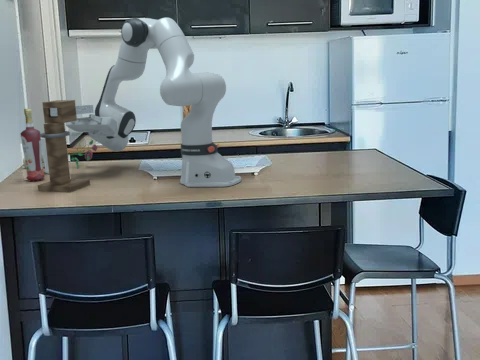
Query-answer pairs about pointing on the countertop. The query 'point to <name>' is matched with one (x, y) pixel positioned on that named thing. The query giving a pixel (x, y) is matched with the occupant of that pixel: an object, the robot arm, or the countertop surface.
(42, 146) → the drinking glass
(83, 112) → the gray square bar
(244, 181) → the countertop surface
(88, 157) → the flower vase
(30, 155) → the liquor
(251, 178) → the countertop surface
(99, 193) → the countertop surface
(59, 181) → the rosette stand
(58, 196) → the countertop surface
